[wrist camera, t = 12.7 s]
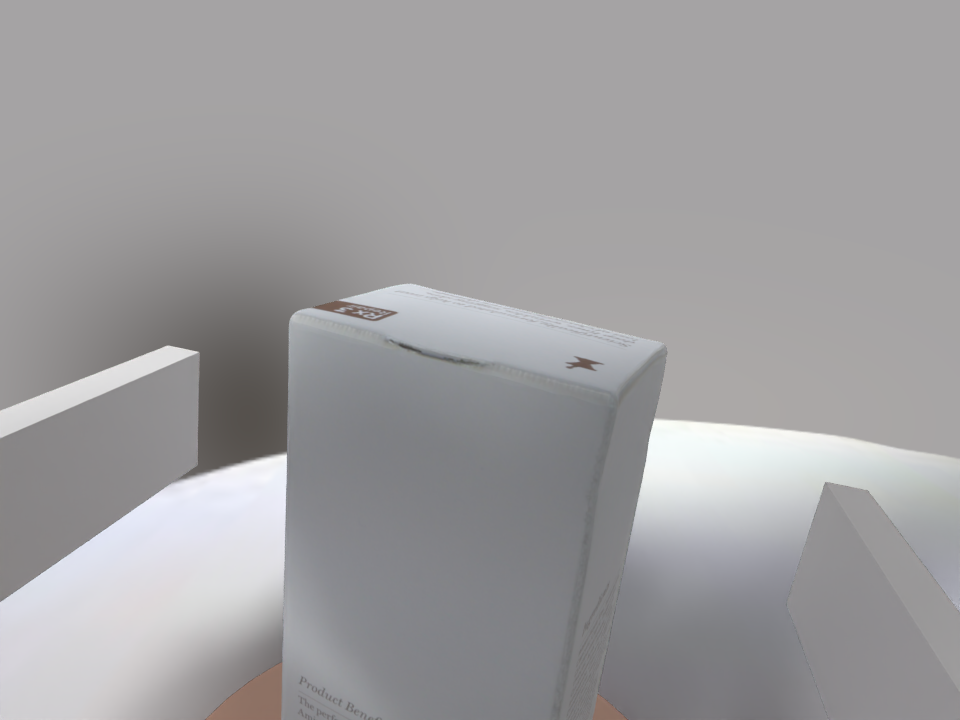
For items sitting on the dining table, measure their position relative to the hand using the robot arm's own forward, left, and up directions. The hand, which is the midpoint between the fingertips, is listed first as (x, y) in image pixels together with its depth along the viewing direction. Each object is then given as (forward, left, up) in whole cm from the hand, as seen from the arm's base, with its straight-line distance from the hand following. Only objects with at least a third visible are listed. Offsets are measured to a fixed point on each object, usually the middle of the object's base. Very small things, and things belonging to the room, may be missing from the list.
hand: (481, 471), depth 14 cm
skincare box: (0, +1, -9) cm, 9 cm away
